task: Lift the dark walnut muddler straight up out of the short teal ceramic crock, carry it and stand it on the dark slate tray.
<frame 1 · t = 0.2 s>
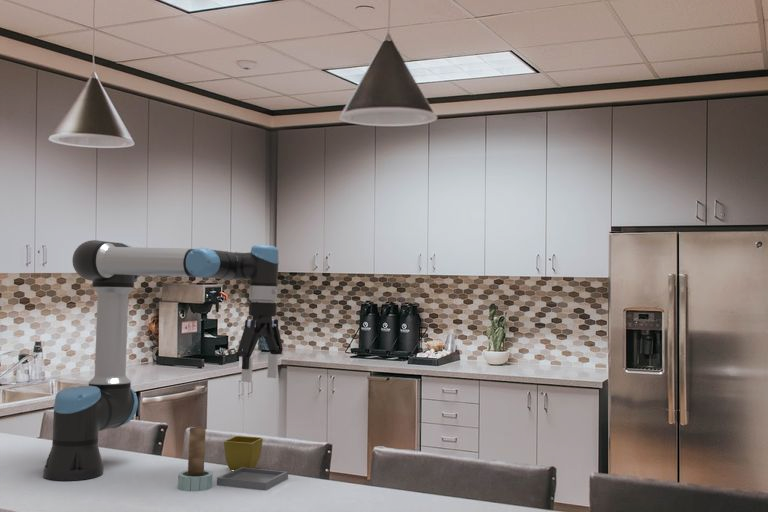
hand: (259, 379, 210), 27 cm above the table, tool pointing down, fingers open, 13 cm apart
crock: (195, 489, 199), on the table
muddler: (195, 486, 199), point 1 cm above the table, touching crock
flower pot: (242, 471, 222), on the table
tray: (252, 484, 206), on the table
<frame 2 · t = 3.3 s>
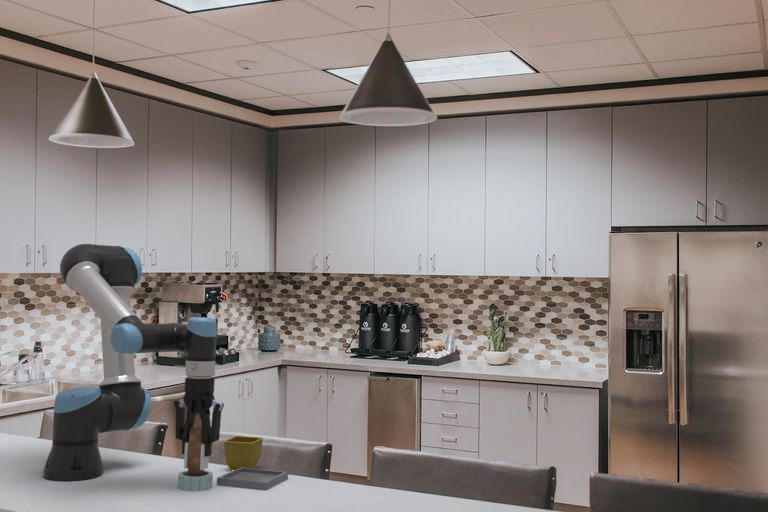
hand: (195, 467, 199), 5 cm above the table, tool pointing down, fingers closed on muddler, 4 cm apart
muddler: (195, 486, 199), point 1 cm above the table, touching crock, gripper
everything else where it was.
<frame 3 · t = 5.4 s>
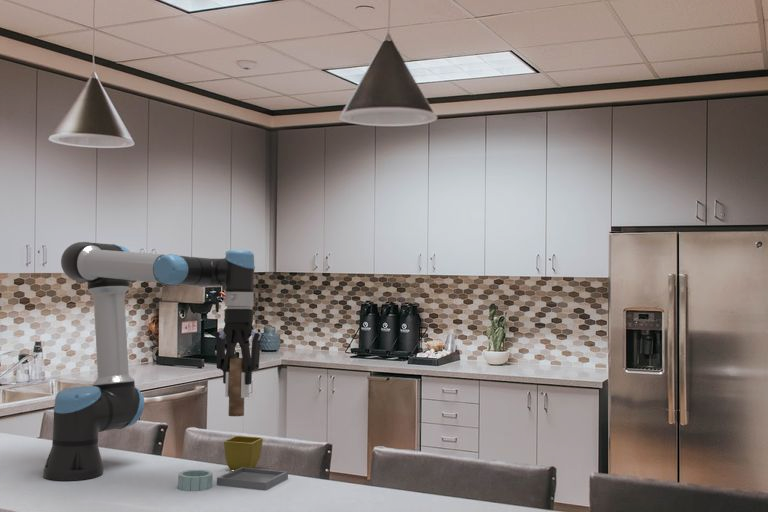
hand: (236, 396, 204), 23 cm above the table, tool pointing down, fingers closed on muddler, 4 cm apart
muddler: (236, 415, 204), point 19 cm above the table, touching gripper
everything else where it was.
when the fingers open (7 cm above the table, at t = 7.9 s): muddler stays where it is, resting on tray.
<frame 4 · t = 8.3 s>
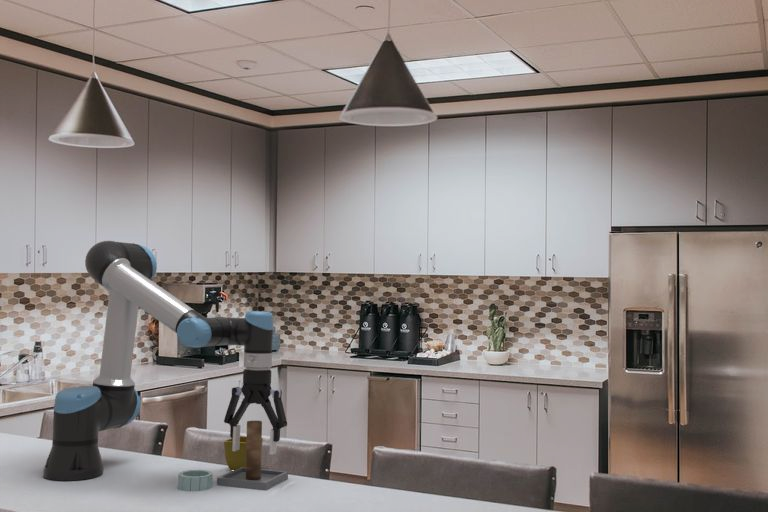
hand: (254, 452, 206), 8 cm above the table, tool pointing down, fingers open, 10 cm apart
muddler: (253, 478, 206), point 2 cm above the table, touching tray
everything else where it was.
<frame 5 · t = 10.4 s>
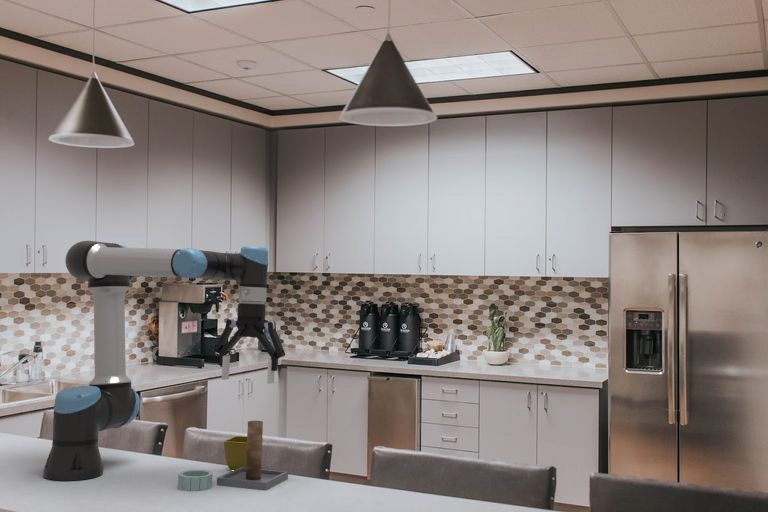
hand: (247, 381, 209), 27 cm above the table, tool pointing down, fingers open, 13 cm apart
nothing on the table moved.
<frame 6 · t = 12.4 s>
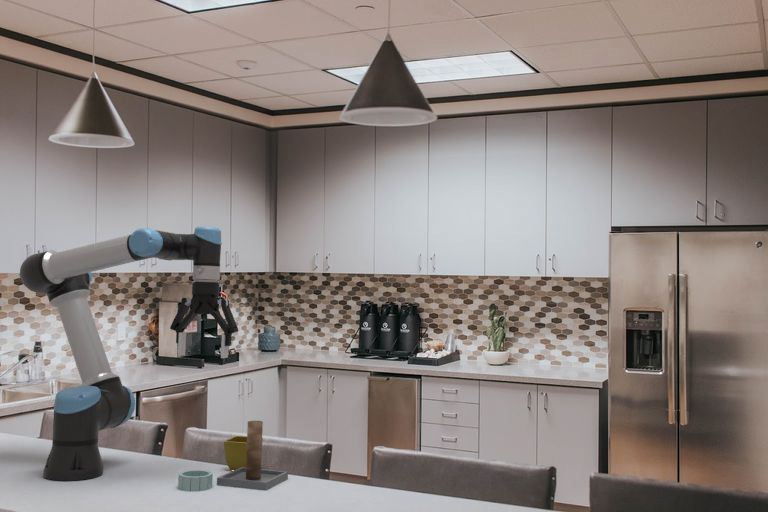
hand: (202, 356, 217), 33 cm above the table, tool pointing down, fingers open, 13 cm apart
nothing on the table moved.
at the end: muddler inside the target area on the tray (0.1 cm from its centre), point 1.5 cm above the tray's base; the gripper is holding nothing; muddler touching tray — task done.
